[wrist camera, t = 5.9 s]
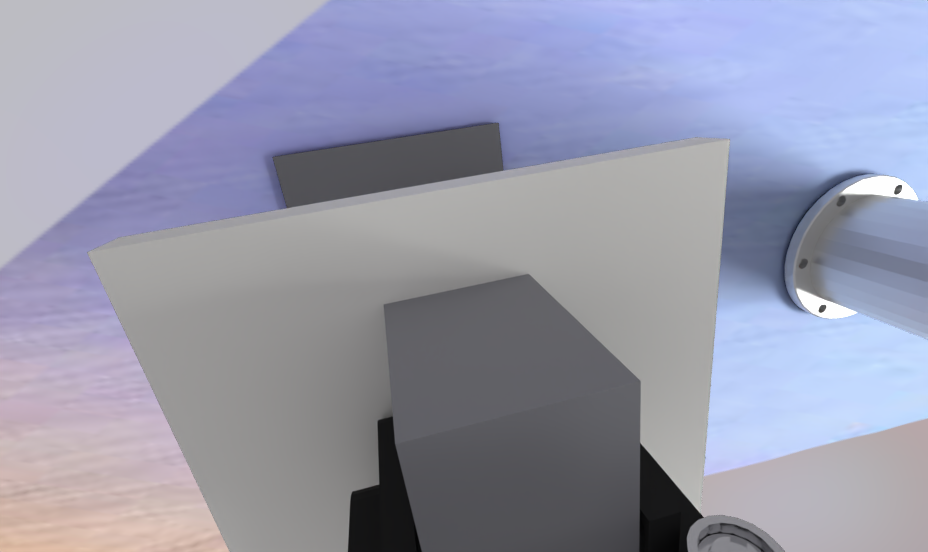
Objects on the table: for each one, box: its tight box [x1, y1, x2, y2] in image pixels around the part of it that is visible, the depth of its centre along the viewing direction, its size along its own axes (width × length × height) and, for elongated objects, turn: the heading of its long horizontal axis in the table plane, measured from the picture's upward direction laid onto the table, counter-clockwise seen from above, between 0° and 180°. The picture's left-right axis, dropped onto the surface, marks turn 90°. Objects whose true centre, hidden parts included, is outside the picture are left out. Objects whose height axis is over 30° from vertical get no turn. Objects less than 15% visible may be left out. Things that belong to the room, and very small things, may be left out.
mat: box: [273, 123, 503, 208], centre depth 29 cm, size 14×12×1 cm
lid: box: [87, 137, 730, 552], centre depth 9 cm, size 12×12×5 cm
